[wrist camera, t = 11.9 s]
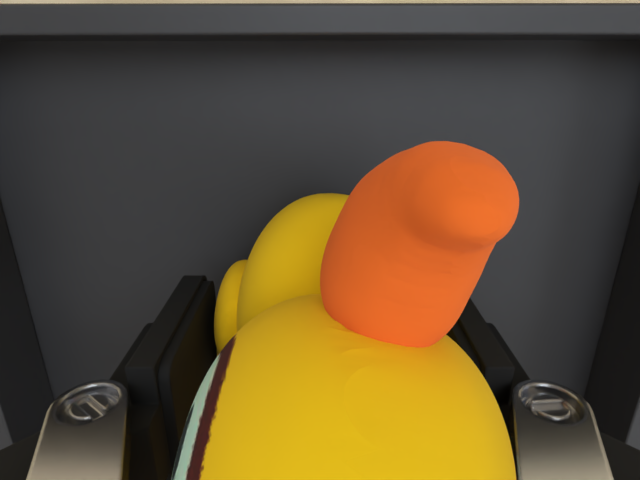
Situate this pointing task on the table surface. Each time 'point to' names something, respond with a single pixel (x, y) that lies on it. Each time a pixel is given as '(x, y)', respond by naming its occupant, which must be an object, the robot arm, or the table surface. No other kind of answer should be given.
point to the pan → (309, 167)
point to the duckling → (359, 334)
